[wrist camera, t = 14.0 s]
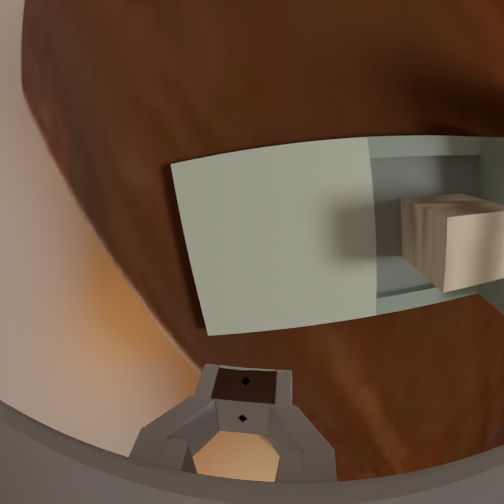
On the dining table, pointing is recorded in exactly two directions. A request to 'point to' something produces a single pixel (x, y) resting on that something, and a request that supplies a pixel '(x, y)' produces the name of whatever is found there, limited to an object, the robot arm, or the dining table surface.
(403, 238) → the birch block
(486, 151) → the board
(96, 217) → the dining table surface
